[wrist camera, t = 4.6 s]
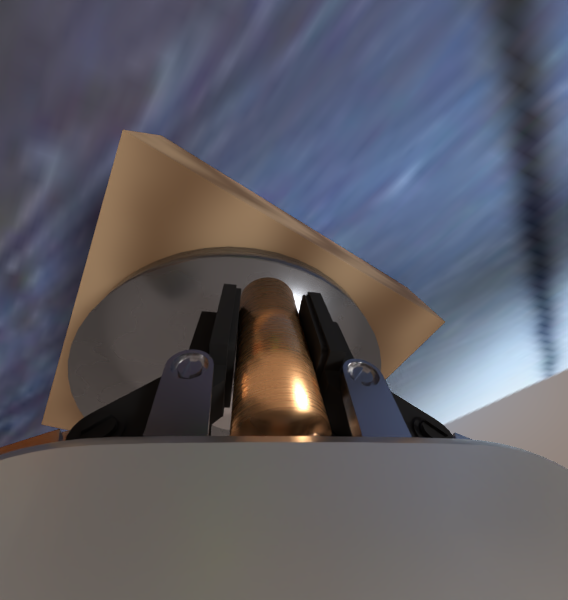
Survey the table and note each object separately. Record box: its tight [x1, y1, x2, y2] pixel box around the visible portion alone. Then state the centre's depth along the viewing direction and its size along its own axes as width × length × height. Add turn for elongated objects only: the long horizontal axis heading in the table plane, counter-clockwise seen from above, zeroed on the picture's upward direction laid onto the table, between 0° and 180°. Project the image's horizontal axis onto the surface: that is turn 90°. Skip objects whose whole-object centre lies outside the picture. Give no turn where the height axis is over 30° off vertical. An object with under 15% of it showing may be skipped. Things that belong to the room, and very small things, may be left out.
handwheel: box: [68, 246, 381, 437], centre depth 13 cm, size 18×18×9 cm
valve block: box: [42, 130, 445, 430], centre depth 20 cm, size 20×20×5 cm
